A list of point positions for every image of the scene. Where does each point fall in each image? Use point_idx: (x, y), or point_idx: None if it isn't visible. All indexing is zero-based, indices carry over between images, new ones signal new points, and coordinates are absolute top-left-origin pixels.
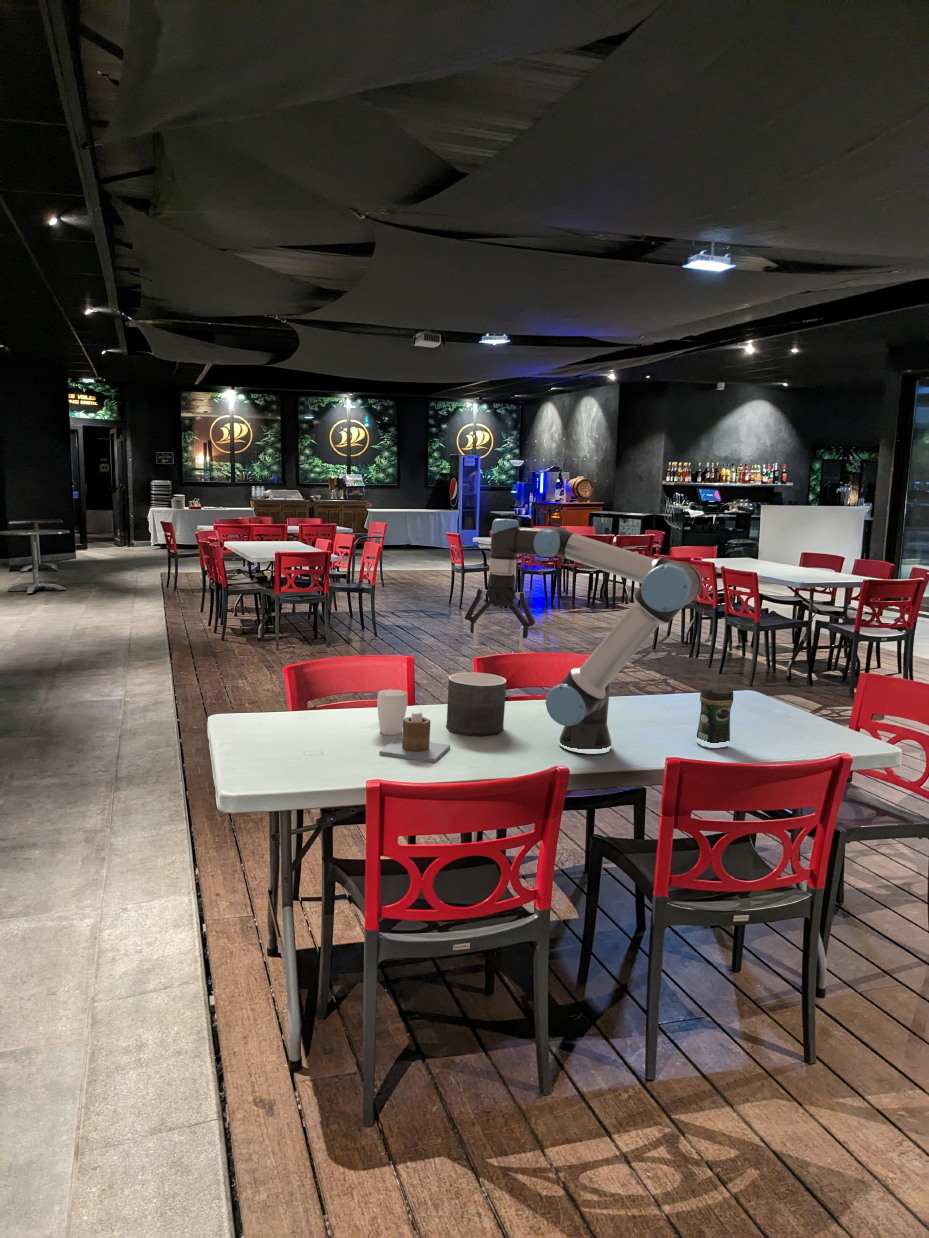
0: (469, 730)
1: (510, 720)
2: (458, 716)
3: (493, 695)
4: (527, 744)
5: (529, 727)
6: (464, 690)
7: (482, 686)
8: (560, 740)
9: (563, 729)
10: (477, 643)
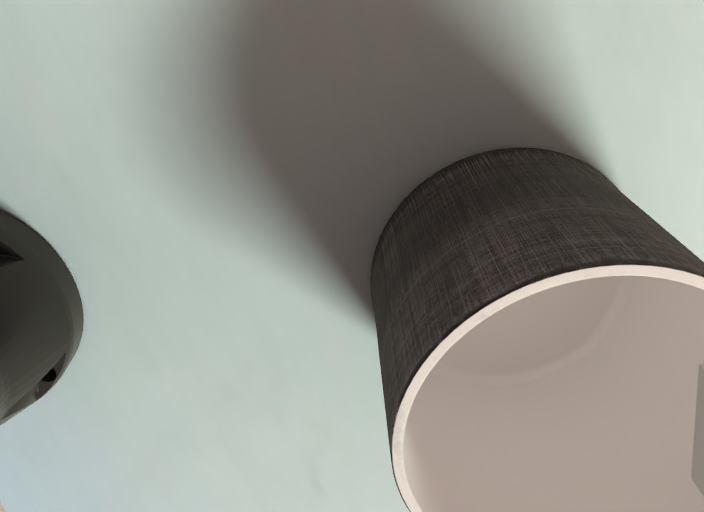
0: (488, 160)
1: None
2: (575, 179)
3: (414, 320)
4: (187, 193)
5: (301, 415)
6: (605, 242)
7: (489, 299)
8: (35, 256)
9: (17, 303)
10: (698, 468)
